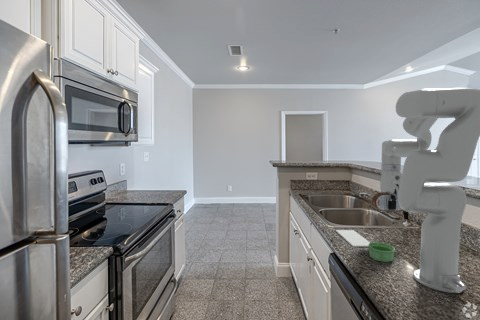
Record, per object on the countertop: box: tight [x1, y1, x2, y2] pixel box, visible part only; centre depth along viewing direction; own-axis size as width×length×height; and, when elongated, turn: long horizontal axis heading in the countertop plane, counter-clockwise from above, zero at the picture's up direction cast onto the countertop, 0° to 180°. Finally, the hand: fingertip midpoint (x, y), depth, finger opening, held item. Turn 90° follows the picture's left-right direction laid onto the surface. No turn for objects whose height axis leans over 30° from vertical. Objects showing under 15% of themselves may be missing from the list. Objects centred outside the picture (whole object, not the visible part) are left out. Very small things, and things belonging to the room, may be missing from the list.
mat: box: [335, 229, 371, 248], centre depth 119 cm, size 20×9×1 cm, turn 0°
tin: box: [371, 191, 404, 213], centre depth 115 cm, size 15×3×8 cm, turn 90°
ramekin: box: [368, 241, 396, 263], centre depth 99 cm, size 9×9×4 cm
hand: (389, 208), depth 116 cm, fingers closed on tin, 2 cm apart
